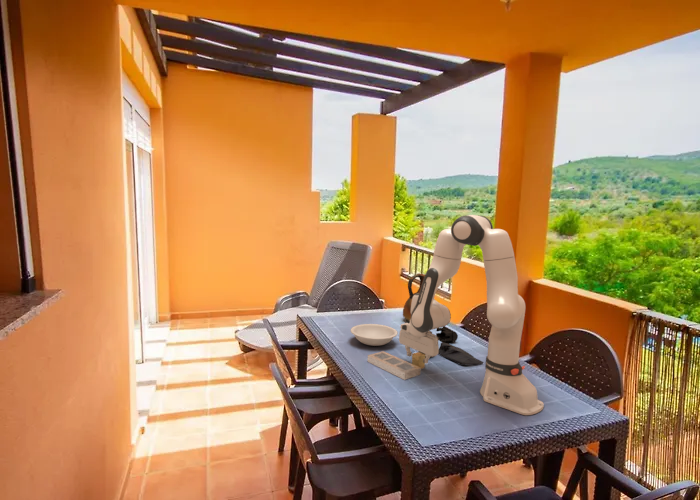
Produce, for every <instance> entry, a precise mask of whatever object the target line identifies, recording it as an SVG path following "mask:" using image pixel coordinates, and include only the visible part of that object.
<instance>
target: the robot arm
mask: <svg viewBox="0 0 700 500" xmlns="http://www.w3.org/2000/svg"><path fill="white" fill-rule="evenodd" d="M466 245H469V246H473V247H477V246H478V247H479V248H480V250H481V252H482V259H483V265H484V272H485V273H484V274H485V280H486V305H487V308H486V317H487V320H488V322H489V324H491V328H490V333H489V336H488V345H487V356H485V357H486V358H485V362H484V365H485V366H484V367H485V373H484V378H483V381H482V385H481V387H480V389H479V393H480V395H481V396H482V400H483V401H484V402H485V403H487V404H488V403H489V404H491V405H494V406H496V407H500V408H501V409H502V408H503V409H505V410H508V411H512V412H514V413H517V414H520V415H522V416H532V415H536V414H538V413H540V412H541V411H542V410H543V409H544V407H545V406H544V405H545V404H544V402H543V401H542V400H540V399H538V398H539V397H538V391H537V387H536V386H535V385H533V383H531V381H530V380H529V379H528V378H527V377H526V375H524V374H523V370H525V368H526V366H525V365H523V366H521V364H520V363H521V362H520V361H519V358H520V346H521V338H522V334H523V328H524V321H525V316H526V315H525V314H526V302H525V300H524V298H523V297H522V296H521V295H520V294H519V290H518V287H519V286H518V281H519V277H518V270H517V265H516V257H515V252H514V248H513V243H512V240H511V237H510V236H509V233H508V231H506V230H504V229H501V228H494V227H493V223H492V222H491V220H490V219H489V218H488V217H486V216H484V215H477V214H469V215H468V214H467V215H462V216H460V217H458V218H456V219H455V220H454V222H453V223H452V224H451V227H450V228H445V229H443V230H441V231H440V232H439V234H438V237H437V239H436V242H435V247H434V251H433V256H432V260H431V263H430V265H429V267H428V269H427V271H426V273H425V276H424V279H423V282H422V286H421V289H420V293H417V294H415V295H414V296H413V298H412V303H411V319H410V321H409V322H405V323H401V324H400V326H399V327H400V330H399V336H398V342H399V344H400V345H403V346H405V351H406V356H407V357H412V354H413V352H412V351H411V349H413V350H415V351H417V352H418V351H420V352H422V353H424V354H425V356H426V358H425V359H423V363H425V365H427V364H428V363H429V359H431V358H430V357H431V356H432V358H433V357H437V356H438V355H439V354H438V353H439V348H440V346H439V345H440V344H439V340H438V338H437V336H436V333H435V334H434V333H433V332H432V333H430V331H432V330H435V329H436V330H437V328H443V326H445V327H447V326H448V325H449V324H450V321H451V318H452V317H451V316H452V314H451V311H450V309H449V307H447V305H444V304H443V303H440V302H438V301H437V300H436V299H435V297H436V292H437V290H438V289H439V287H440V286H441V285H442V284H444V283H445V282H446V281H448V280H450V279H451V278H453V277H454V276H455V275H456V274H457V273H458V272H459V269H460V266H461V263H462V262H461V261H462V257H463V251H464V248H465V247H466Z"/></svg>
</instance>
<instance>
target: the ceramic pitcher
mask: <svg viewBox="0 0 700 500" xmlns="http://www.w3.org/2000/svg"><path fill="white" fill-rule="evenodd" d="M425 274H426V273H425ZM425 274H424V273H416V274H413V275H412V276H411V277H410V278H409V279H408V281H407V288H408V289H407V290H408V295H409V298H407V300H406V302H405V303H404V305H403V310H402V317H403V318H404V319H405V320H406V321H408V322H410V319H411V303H412V298H413V296H414V295H415V294H417V293H420V289H421V286H422V282H423V279H424V276H425ZM417 278H419V287H418V289H417V291H416V292H413V289H412V285H413V281H414V280H415V279H417Z"/></svg>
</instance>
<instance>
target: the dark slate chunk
mask: <svg viewBox="0 0 700 500" xmlns="http://www.w3.org/2000/svg"><path fill="white" fill-rule="evenodd" d="M439 345H440V346H439V353H438V355H439V356H441V357H443V358H445V359H448V360H450V361H452V362H454V363H456V364H459V365H461V366H467V365H468V366H469V365H471V366H472V365H474V366H476V365H478V366H479V365H483V363H484V361H482V360H480V359H478V358H476V357H475V356H473V355H472V354H470V353H469V352H468V351H466V350H465V349H462V348H461V347H457V346H456V345H453V344H447V343H442V342H440V344H439Z"/></svg>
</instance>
